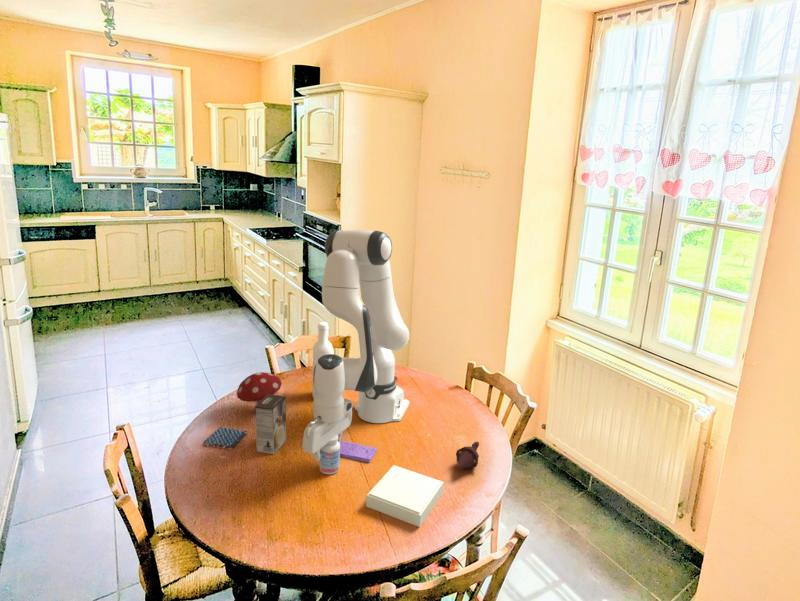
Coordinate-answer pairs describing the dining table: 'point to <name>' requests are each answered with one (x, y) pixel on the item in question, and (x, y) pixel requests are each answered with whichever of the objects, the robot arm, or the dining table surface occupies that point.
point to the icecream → (468, 456)
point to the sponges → (357, 451)
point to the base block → (405, 495)
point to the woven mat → (225, 438)
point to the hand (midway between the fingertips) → (327, 451)
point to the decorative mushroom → (258, 387)
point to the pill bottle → (330, 457)
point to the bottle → (321, 346)
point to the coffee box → (270, 423)
